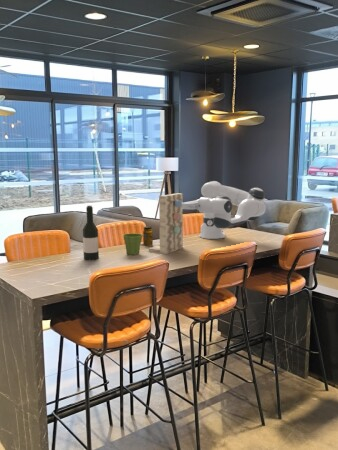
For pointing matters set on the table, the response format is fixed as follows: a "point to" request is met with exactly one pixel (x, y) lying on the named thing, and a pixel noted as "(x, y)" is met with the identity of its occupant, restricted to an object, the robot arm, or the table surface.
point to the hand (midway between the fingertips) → (182, 203)
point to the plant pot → (132, 243)
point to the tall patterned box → (169, 224)
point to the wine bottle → (90, 237)
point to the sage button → (176, 229)
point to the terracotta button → (176, 216)
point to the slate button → (177, 203)
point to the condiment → (147, 237)
